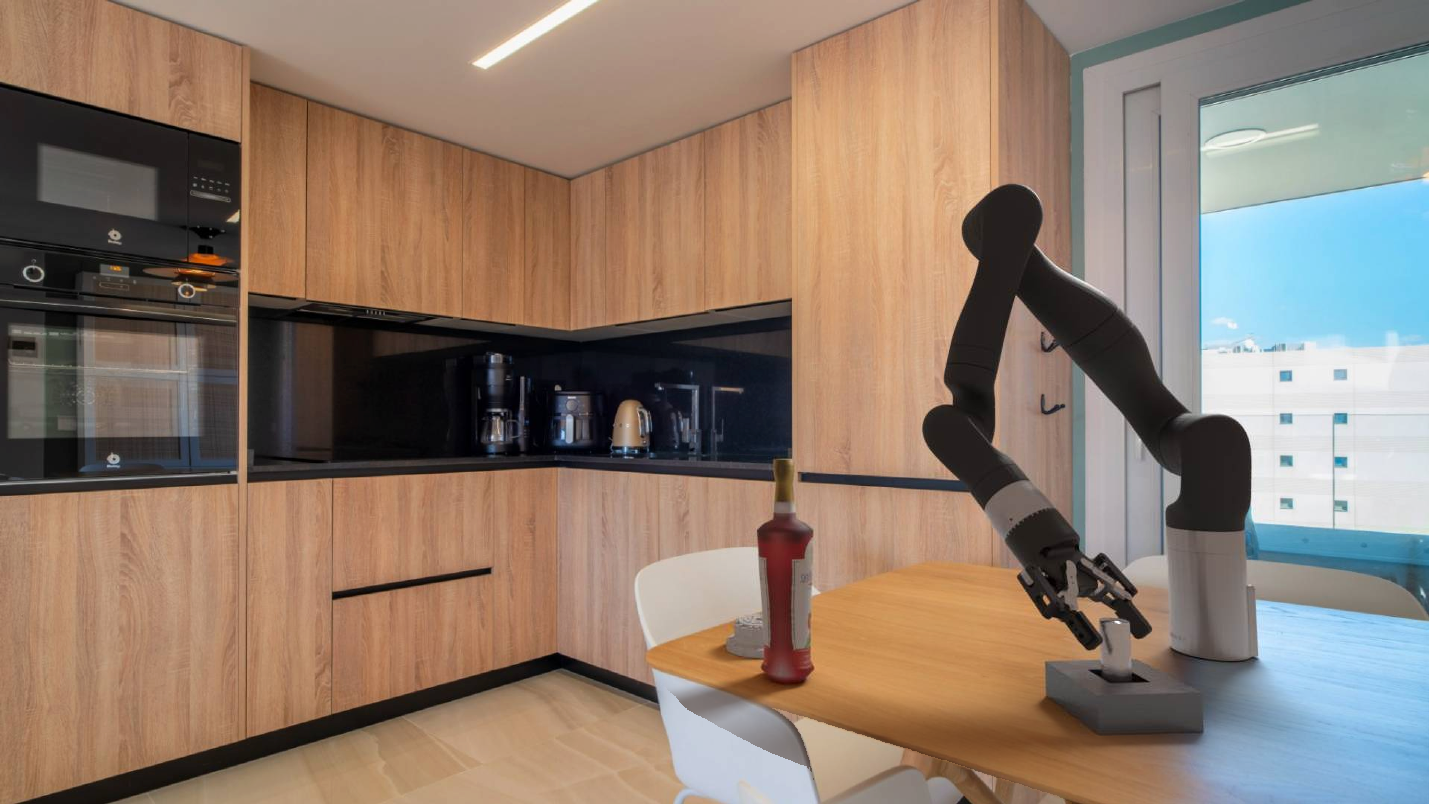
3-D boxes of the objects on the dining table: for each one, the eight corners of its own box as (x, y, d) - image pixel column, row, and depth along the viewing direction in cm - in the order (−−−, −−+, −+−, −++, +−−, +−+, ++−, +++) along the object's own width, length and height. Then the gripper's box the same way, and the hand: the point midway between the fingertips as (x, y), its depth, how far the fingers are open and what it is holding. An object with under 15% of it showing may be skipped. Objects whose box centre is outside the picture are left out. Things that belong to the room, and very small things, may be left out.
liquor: (768, 665, 97) (764, 458, 98) (821, 671, 94) (817, 458, 95) (751, 683, 90) (748, 460, 91) (808, 690, 87) (804, 460, 89)
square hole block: (1137, 693, 85) (1136, 658, 85) (1203, 731, 74) (1201, 692, 74) (1046, 695, 84) (1044, 661, 85) (1098, 734, 73) (1097, 695, 74)
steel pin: (1123, 706, 81) (1119, 617, 81) (1139, 717, 78) (1135, 624, 78) (1097, 707, 81) (1093, 617, 81) (1112, 718, 78) (1108, 624, 78)
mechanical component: (720, 658, 101) (791, 662, 99) (720, 627, 101) (790, 630, 99) (732, 638, 111) (797, 641, 109) (732, 609, 111) (796, 612, 109)
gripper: (1006, 509, 84) (1101, 631, 74) (1085, 502, 91) (1184, 613, 80) (973, 549, 89) (1058, 669, 78) (1051, 539, 95) (1139, 649, 85)
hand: (1121, 640), depth 79 cm, fingers open, 8 cm apart
